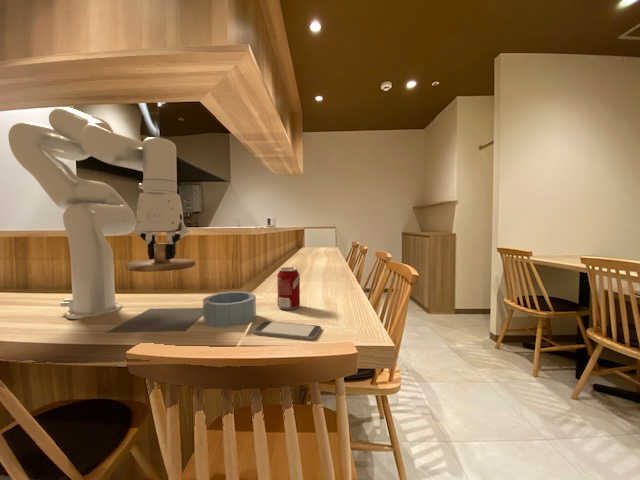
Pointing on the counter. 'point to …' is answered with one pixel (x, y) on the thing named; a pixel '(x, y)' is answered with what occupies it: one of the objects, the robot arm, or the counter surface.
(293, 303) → the soda can
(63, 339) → the counter surface
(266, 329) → the smartphone
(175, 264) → the lid
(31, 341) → the counter surface
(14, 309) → the counter surface
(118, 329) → the mat
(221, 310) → the bowl
